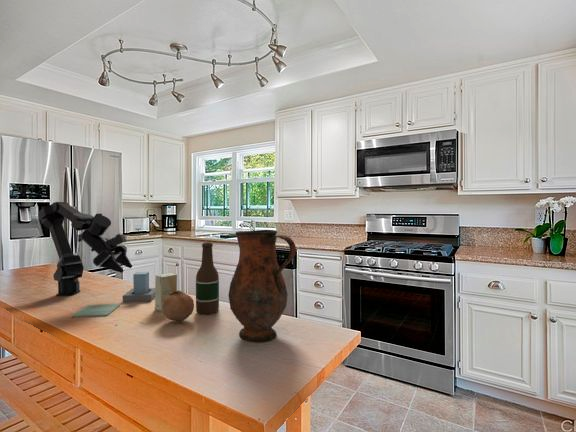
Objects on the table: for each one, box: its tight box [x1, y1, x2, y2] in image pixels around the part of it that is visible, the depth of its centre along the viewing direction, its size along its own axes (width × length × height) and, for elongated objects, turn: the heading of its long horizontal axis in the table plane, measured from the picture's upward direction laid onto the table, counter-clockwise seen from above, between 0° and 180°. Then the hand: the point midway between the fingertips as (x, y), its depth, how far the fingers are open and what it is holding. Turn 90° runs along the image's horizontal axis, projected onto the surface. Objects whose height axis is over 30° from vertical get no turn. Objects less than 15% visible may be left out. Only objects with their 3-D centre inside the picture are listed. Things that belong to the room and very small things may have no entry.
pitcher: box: [228, 229, 297, 343], centre depth 89 cm, size 17×21×30 cm
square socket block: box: [122, 287, 155, 303], centre depth 127 cm, size 10×10×2 cm
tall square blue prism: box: [132, 271, 150, 294], centre depth 127 cm, size 4×4×10 cm
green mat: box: [71, 303, 121, 318], centre depth 111 cm, size 11×11×1 cm
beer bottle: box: [195, 242, 220, 316], centre depth 111 cm, size 8×8×24 cm
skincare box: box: [154, 272, 178, 312], centre depth 114 cm, size 6×4×12 cm
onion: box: [162, 290, 195, 323], centre depth 101 cm, size 10×9×10 cm
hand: (127, 269), depth 126 cm, fingers open, 9 cm apart
